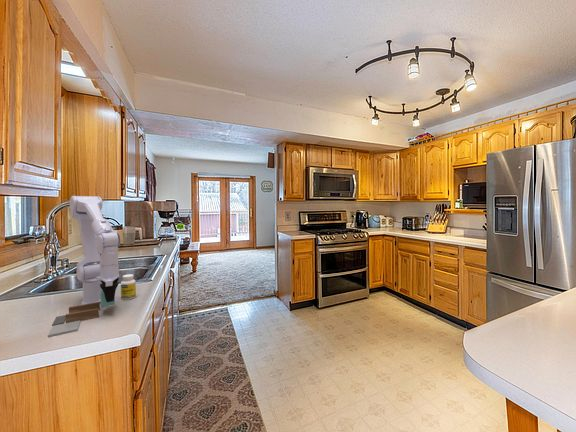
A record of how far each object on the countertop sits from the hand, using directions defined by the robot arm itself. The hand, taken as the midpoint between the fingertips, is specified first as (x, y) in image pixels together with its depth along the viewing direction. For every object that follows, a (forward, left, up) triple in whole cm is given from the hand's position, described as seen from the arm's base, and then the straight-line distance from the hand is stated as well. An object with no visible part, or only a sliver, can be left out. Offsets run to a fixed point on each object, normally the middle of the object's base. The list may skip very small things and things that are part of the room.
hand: (110, 299), depth 95 cm
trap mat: (0, -14, -4) cm, 15 cm away
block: (0, -1, -2) cm, 2 cm away
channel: (0, -8, -4) cm, 9 cm away
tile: (+9, -12, -4) cm, 15 cm away
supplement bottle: (-11, +6, -5) cm, 14 cm away
